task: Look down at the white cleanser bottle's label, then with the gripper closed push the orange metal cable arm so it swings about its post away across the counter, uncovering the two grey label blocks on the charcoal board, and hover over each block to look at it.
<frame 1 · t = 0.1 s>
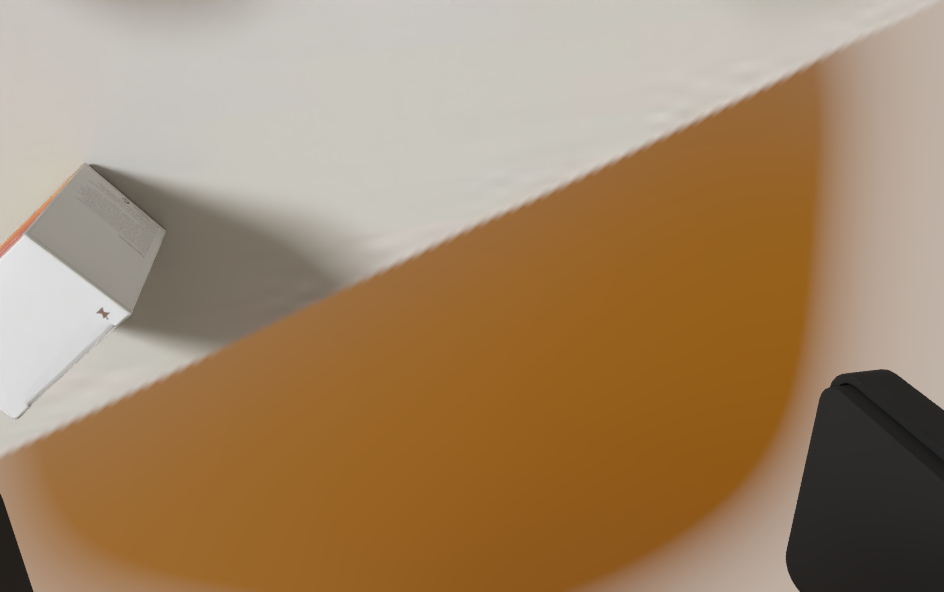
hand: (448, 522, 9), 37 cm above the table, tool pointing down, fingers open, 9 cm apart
small box: (80, 242, 44), on the table
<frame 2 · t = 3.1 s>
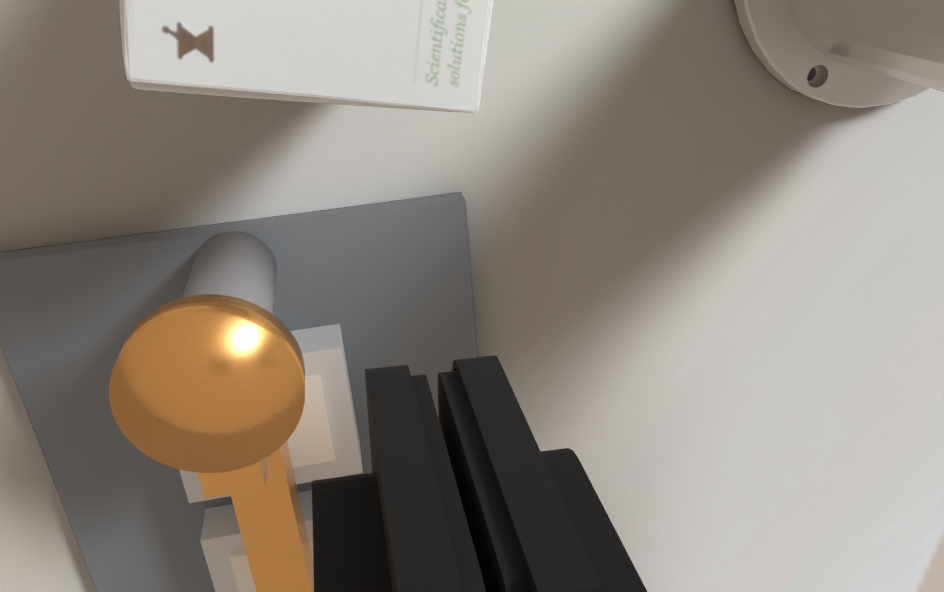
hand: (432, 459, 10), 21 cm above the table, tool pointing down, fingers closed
cable arm: (267, 542, 28), point 7 cm above the table, hinge at 0.0°
sled board: (273, 416, 34), on the table
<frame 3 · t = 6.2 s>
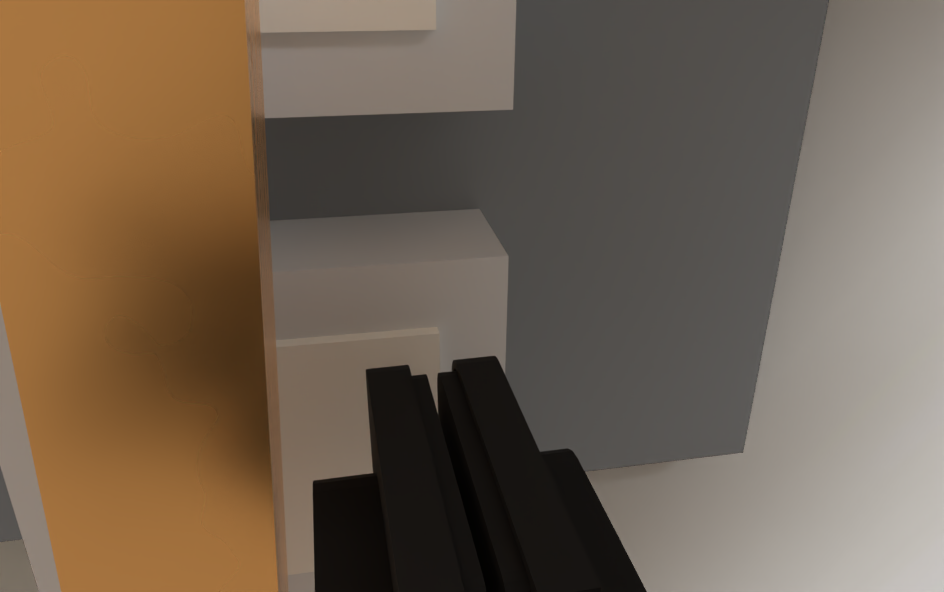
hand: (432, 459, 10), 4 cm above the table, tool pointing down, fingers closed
cable arm: (78, 107, 5), point 7 cm above the table, hinge at 3.1°, touching gripper
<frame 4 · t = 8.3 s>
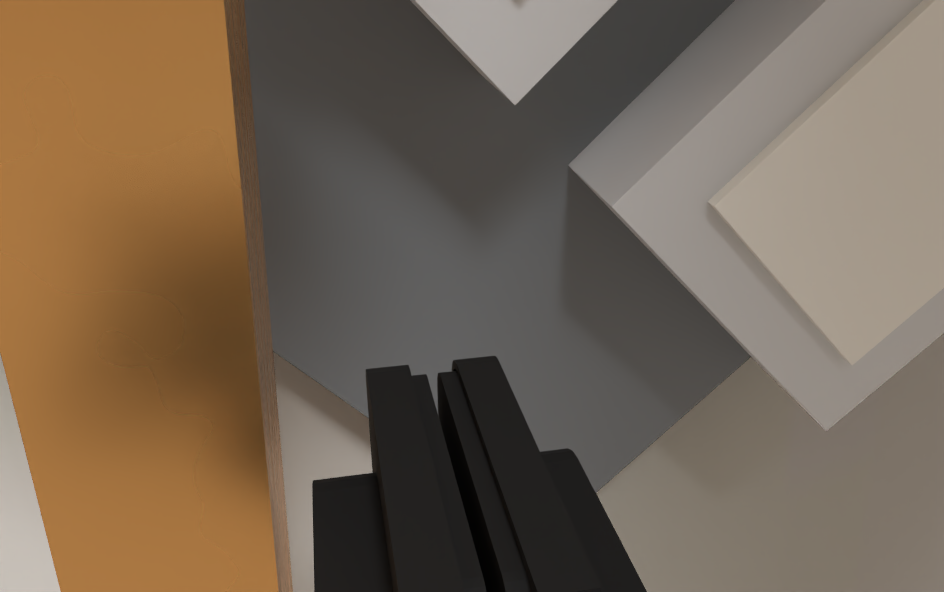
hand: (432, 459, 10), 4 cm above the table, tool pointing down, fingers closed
cable arm: (60, 127, 5), point 7 cm above the table, hinge at 46.3°, touching gripper
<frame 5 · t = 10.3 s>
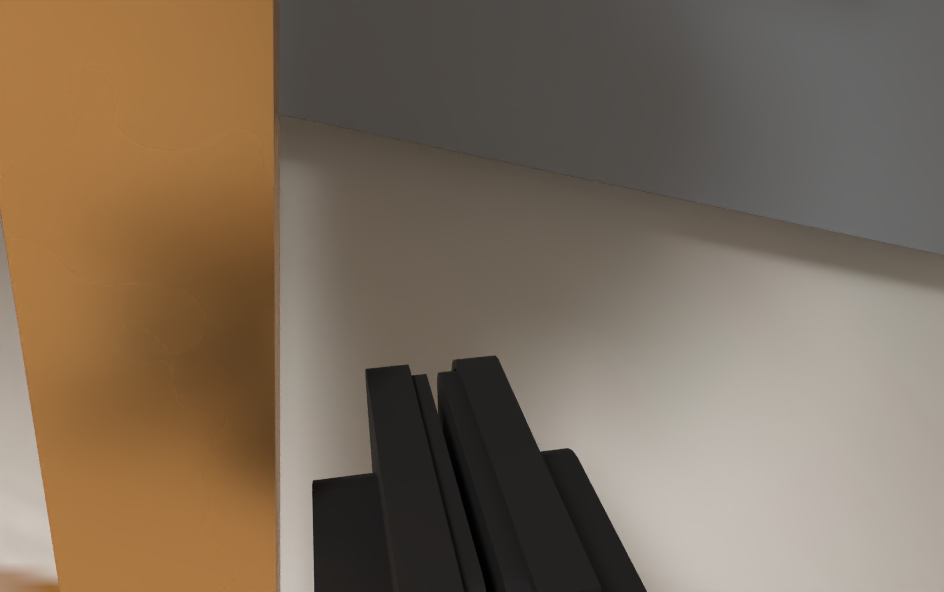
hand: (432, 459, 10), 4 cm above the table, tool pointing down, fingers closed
cable arm: (109, 119, 5), point 7 cm above the table, hinge at 80.9°, touching gripper
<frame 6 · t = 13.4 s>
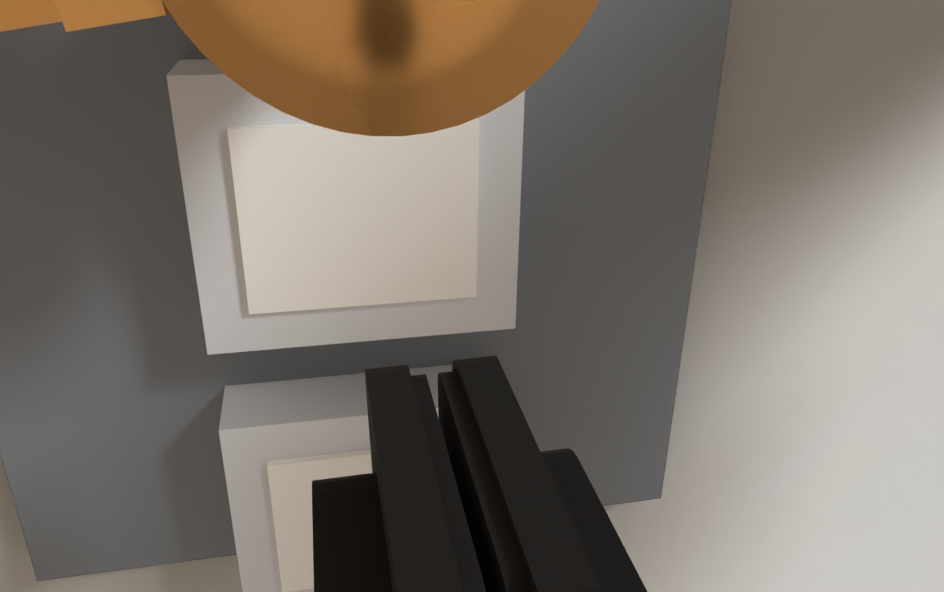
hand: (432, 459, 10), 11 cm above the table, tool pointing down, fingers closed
sled board: (354, 234, 20), on the table
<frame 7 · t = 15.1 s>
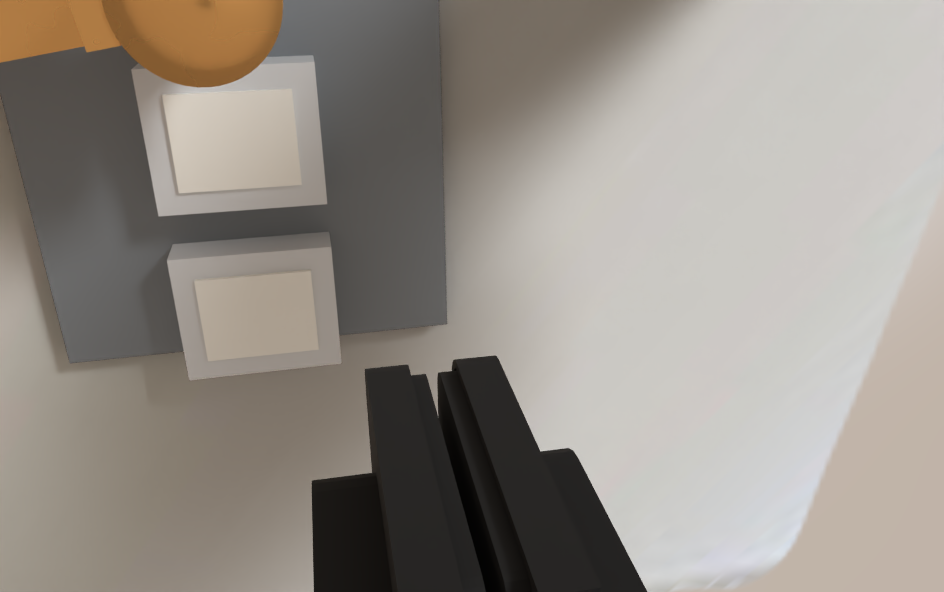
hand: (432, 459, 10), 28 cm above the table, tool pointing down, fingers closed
sled board: (243, 157, 36), on the table
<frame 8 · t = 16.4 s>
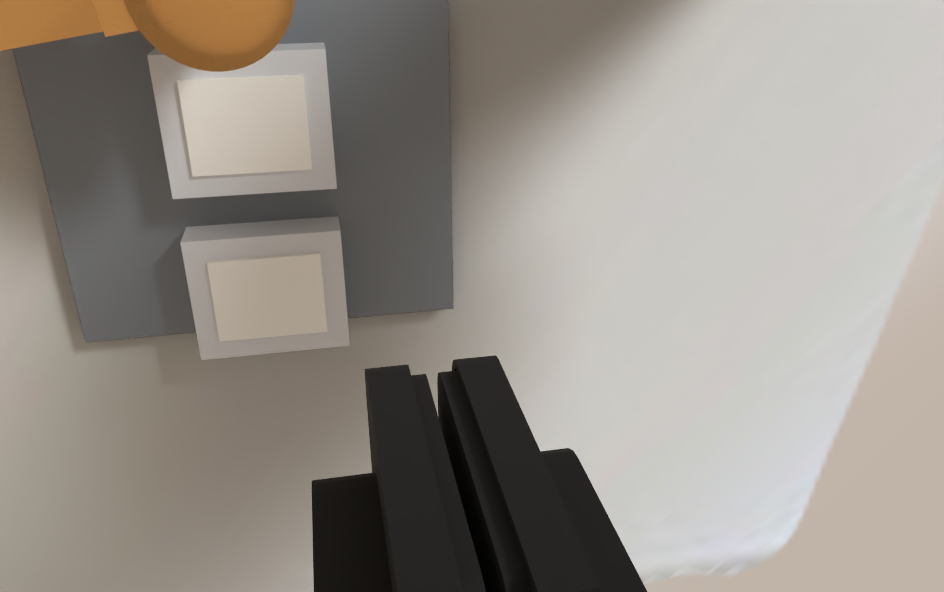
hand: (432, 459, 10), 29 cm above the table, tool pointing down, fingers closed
sled board: (255, 142, 37), on the table
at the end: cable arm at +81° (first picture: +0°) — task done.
